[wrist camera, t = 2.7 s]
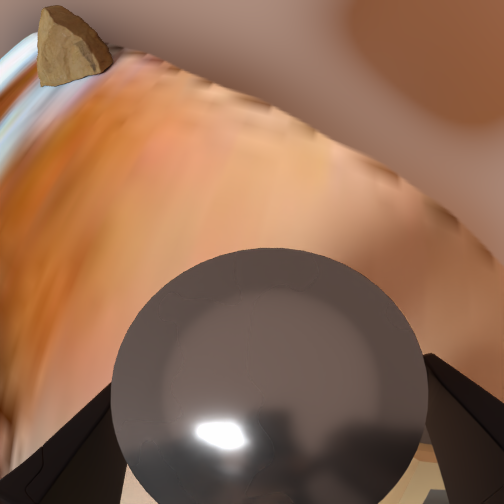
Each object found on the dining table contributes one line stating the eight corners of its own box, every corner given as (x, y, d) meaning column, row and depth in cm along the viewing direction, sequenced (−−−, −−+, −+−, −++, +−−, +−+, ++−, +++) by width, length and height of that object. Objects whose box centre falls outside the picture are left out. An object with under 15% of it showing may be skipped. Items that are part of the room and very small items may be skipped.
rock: (133, 35, 25) (98, 16, 27) (70, 15, 17) (45, 1, 19) (89, 118, 30) (61, 86, 31) (26, 115, 22) (8, 81, 24)
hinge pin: (302, 429, 15) (351, 565, 3) (215, 398, 16) (80, 466, 4) (334, 344, 16) (459, 302, 4) (248, 315, 17) (180, 210, 5)
